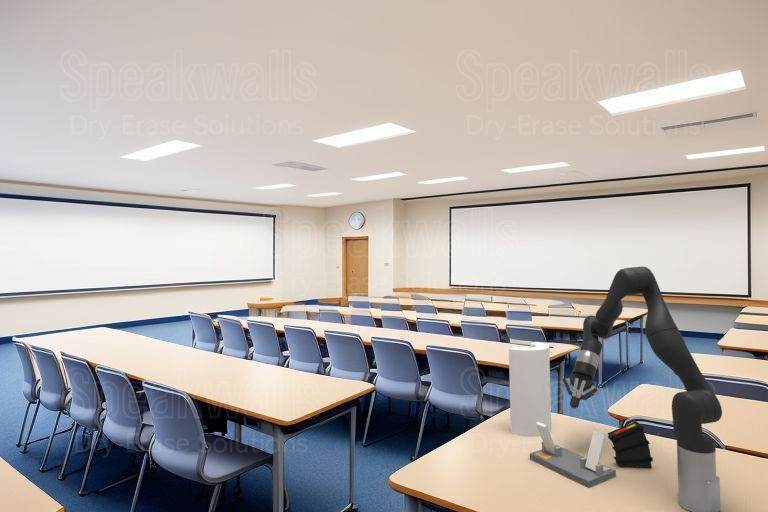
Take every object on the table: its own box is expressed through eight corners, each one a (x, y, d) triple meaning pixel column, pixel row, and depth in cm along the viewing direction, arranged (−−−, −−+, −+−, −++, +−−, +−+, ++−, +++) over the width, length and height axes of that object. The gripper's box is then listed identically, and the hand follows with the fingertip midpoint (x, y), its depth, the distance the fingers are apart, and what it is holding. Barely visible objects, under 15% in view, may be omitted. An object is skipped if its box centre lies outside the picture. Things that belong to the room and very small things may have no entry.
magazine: (662, 464, 152) (641, 424, 153) (625, 479, 153) (605, 439, 154) (657, 459, 156) (636, 420, 157) (621, 474, 157) (601, 435, 158)
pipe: (509, 432, 187) (536, 420, 200) (533, 440, 178) (560, 427, 191) (507, 348, 187) (535, 341, 200) (531, 352, 178) (558, 345, 191)
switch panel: (616, 476, 148) (615, 461, 148) (588, 487, 141) (588, 471, 141) (555, 450, 169) (555, 436, 169) (529, 458, 162) (529, 445, 162)
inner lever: (598, 472, 146) (606, 435, 149) (595, 471, 146) (604, 434, 148) (587, 467, 150) (595, 431, 152) (585, 466, 149) (593, 430, 152)
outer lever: (557, 452, 160) (546, 425, 158) (555, 454, 160) (544, 427, 157) (548, 448, 164) (537, 421, 161) (546, 450, 163) (535, 423, 161)
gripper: (567, 355, 171) (553, 398, 165) (604, 366, 164) (591, 411, 158) (569, 363, 177) (556, 404, 171) (605, 373, 169) (593, 417, 163)
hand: (573, 407), depth 164 cm, fingers closed
